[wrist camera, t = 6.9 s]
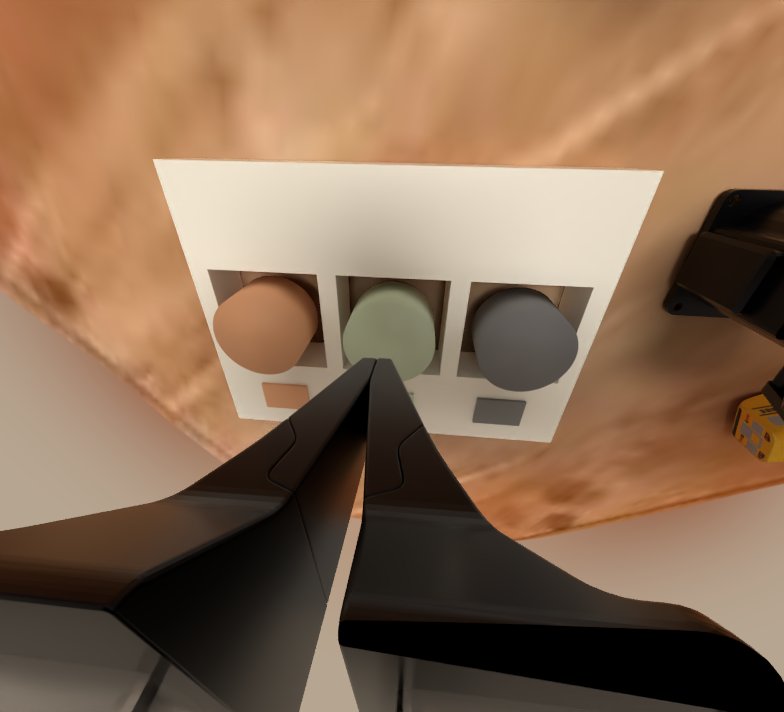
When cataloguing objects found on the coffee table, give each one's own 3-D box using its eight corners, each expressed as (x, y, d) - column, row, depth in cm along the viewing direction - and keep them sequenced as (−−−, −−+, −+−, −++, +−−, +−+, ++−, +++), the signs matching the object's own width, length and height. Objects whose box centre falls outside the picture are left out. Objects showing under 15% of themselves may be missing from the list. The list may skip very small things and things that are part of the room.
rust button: (313, 277, 18) (295, 298, 15) (321, 349, 21) (307, 377, 18) (231, 273, 18) (200, 293, 16) (250, 345, 21) (226, 371, 18)
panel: (625, 167, 15) (667, 171, 13) (537, 412, 24) (551, 444, 21) (193, 158, 17) (149, 159, 14) (257, 391, 26) (237, 420, 23)
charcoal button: (568, 289, 17) (593, 313, 15) (543, 363, 20) (561, 394, 17) (478, 285, 17) (486, 308, 15) (465, 358, 20) (471, 388, 17)
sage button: (437, 283, 18) (439, 305, 15) (430, 356, 20) (431, 385, 18) (351, 279, 18) (339, 300, 15) (355, 351, 20) (345, 379, 18)
